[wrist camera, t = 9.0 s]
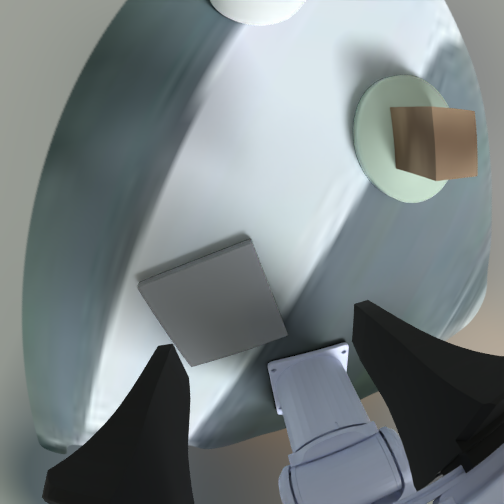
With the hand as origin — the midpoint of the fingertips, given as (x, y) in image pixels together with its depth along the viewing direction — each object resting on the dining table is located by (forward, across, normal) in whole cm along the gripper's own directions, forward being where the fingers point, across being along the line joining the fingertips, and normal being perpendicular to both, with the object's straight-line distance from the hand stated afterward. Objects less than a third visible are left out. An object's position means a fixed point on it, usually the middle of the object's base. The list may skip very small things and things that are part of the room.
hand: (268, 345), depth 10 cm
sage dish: (+10, -14, -6) cm, 18 cm away
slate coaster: (+10, +3, +5) cm, 12 cm away
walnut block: (+9, -14, -6) cm, 18 cm away
